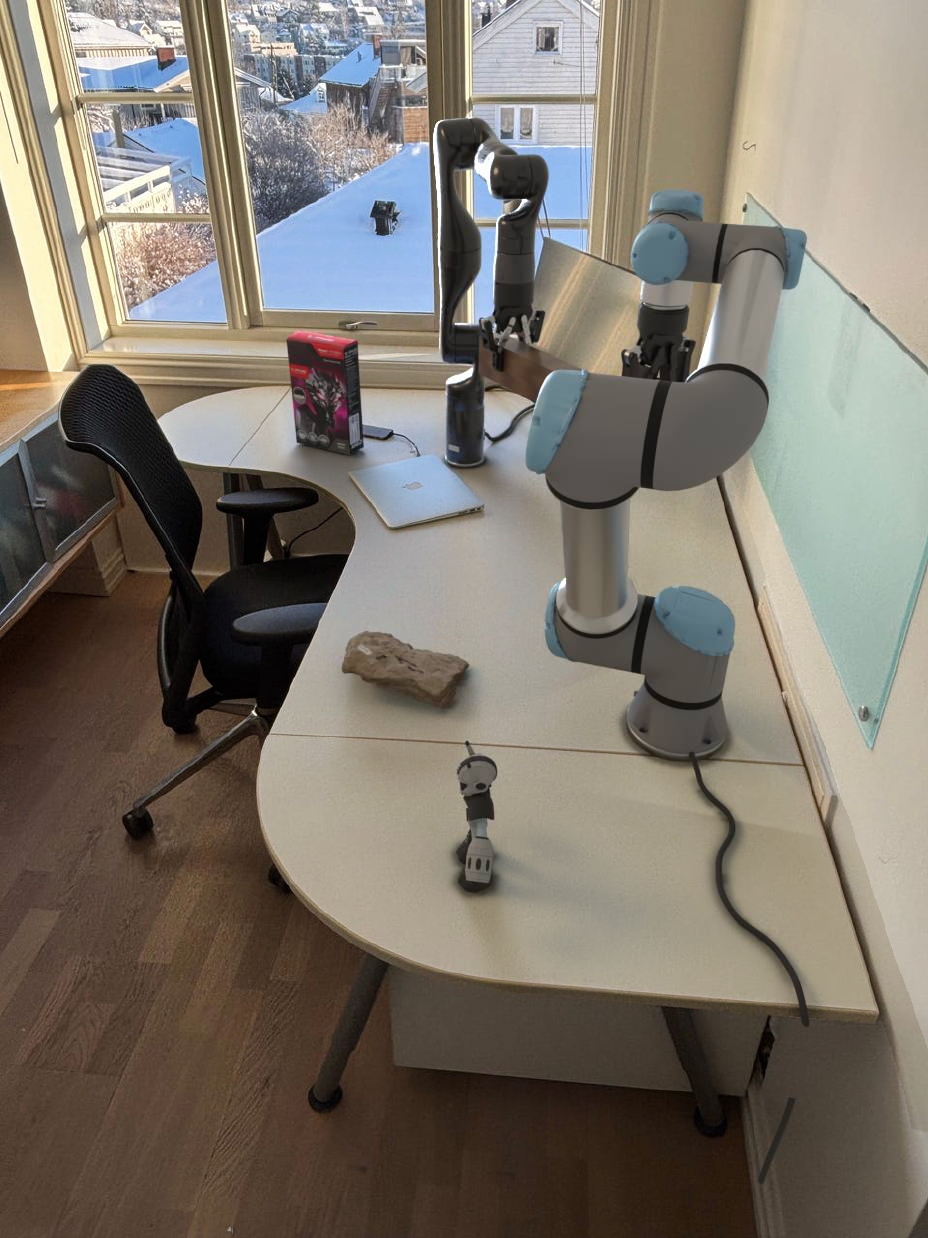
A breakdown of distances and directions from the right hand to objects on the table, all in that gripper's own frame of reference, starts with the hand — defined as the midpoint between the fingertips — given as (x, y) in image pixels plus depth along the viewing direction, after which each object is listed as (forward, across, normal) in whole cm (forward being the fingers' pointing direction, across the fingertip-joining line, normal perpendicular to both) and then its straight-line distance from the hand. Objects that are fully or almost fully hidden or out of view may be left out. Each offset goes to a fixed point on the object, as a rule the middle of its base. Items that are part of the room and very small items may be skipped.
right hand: (646, 448), depth 151 cm
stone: (+33, +45, -5) cm, 56 cm away
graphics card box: (+33, +12, -99) cm, 105 cm away
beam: (+1, 0, -19) cm, 19 cm away
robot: (+33, +56, +35) cm, 74 cm away
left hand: (-2, 0, -39) cm, 39 cm away
